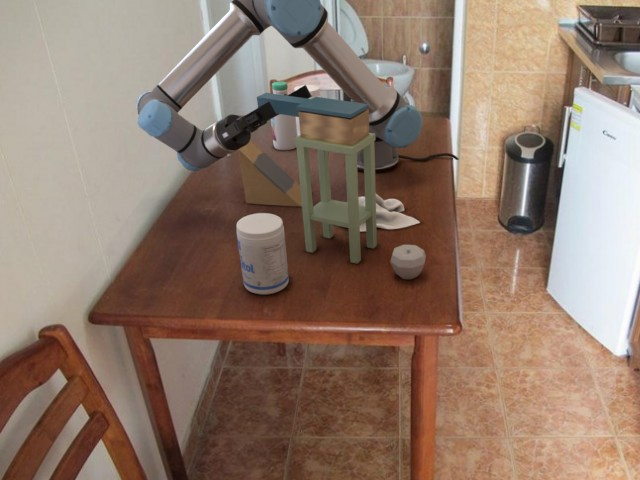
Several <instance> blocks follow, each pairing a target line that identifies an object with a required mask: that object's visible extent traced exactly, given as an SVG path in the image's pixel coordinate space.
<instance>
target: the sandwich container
mask: <svg viewBox="0 0 640 480" xmlns="http://www.w3.org/2000/svg"><path fill="white" fill-rule="evenodd" d="M237 152H238V159H239V165H240V170H241V171H240V173H241V177H242V184H243V191H244V198H245V204H250V205H251V204H252V205H254V204H255V205H263V206H265V205H267V206H282V207H283V206H284V207H301V208H302V202H301V191H300V183H299V182H297V181H296V180H295V179H293V178H292V177H291V176H290V175H289V174H288V173H287V172H286V171H284V169H282V167H281V166H279V165H278V164H277V163H276V162H275V161H274V160H273V159H272V158H271V157H270V156H269V155H268V154H267V153H266V152H264V151H263V150H262V149H261V148H260V146H259V145H257V144H256V143H255V142H254V141H253V140H252V139H250V141H249V143H248V144H247V145H245V146H244V147H242V148H240V149H238V150H237Z"/></svg>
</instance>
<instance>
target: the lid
mask: <svg viewBox="0 0 640 480" xmlns="http://www.w3.org/2000/svg"><path fill="white" fill-rule="evenodd" d="M267 102H270V104H271V105H272V107H273V109H274V111H275V113H276V114H282V115H289V116H295V117H299V111H307V112H313V113H320V114H326V115H333V116H339V117H346V118H352V117H354V116H355V115H357V114H359V113H361V112H362V111H364V110H366V109H368V108H369V105H368V104H363V103H356V102H351V101H348V100H342V99H334V98H328V97H322V98H321V97H314V98H312V99H306V98H300V97H293V96H286V95H279V94H274V93H271V92H265V93H262V94H261V95H258V96H256V103H257V108H259V107H260V106H262V105H264V104H265V103H267Z"/></svg>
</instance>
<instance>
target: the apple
mask: <svg viewBox="0 0 640 480" xmlns="http://www.w3.org/2000/svg"><path fill="white" fill-rule="evenodd" d="M426 258H427V255H426V252H425V250H424V249H423V248H421V247H420V246H418V245H416V244H402V245H399V246H396V247H394V248H393V251H392V253H391V258H390V260H389V261H390V264H391V267H392V270H393V272H394V273H395V274H396V275H397V276H399V277H400V278H401V279H403V280H413V279H415V278H417V277H419V275H421V273H422V271H423V269H424V266H425V264H426V263H425V262H426Z"/></svg>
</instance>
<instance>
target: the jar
mask: <svg viewBox="0 0 640 480" xmlns="http://www.w3.org/2000/svg"><path fill="white" fill-rule="evenodd" d="M305 85H306V86H307V88H308V90H309V92H310V94H311V96H312V97H310V98H308V99H312V98H314V97H321V98H323V97H322V95H321V91H320V89H321V88H320V86H318V85H315V84H301V85H297V86H295V87H293V92H294V91H296V90H298V89H299V88H301V87H303V86H305ZM295 118H296V128H297V137H298V136H300V134H301V133H300V123H299V117H295Z"/></svg>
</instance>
